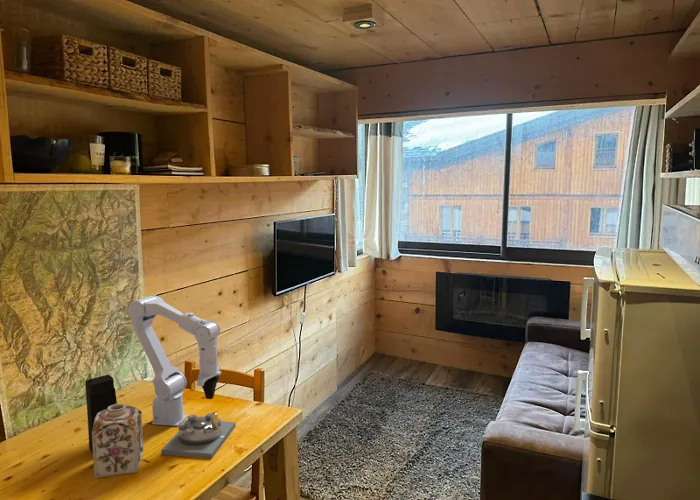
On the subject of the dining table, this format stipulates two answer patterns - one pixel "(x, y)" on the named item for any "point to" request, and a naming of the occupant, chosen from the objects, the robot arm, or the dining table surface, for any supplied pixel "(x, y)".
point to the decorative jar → (117, 441)
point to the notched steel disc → (200, 429)
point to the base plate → (202, 450)
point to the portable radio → (98, 399)
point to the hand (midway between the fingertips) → (209, 398)
